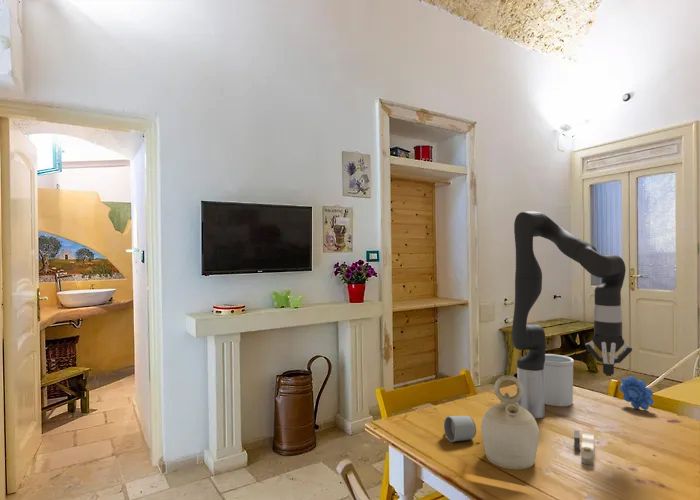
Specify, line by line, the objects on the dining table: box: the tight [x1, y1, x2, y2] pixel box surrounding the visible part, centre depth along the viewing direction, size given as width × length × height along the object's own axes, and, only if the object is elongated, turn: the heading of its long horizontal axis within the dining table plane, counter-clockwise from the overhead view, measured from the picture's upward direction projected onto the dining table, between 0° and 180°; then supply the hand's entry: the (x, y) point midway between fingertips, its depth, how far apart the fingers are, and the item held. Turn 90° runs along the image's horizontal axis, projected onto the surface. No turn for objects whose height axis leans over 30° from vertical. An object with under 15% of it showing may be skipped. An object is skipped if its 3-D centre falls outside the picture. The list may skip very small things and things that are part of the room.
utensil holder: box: [544, 353, 575, 407], centre depth 176 cm, size 15×15×18 cm
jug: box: [480, 374, 540, 471], centre depth 124 cm, size 15×16×25 cm
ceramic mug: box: [443, 415, 477, 443], centre depth 142 cm, size 11×8×8 cm
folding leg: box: [580, 431, 595, 466], centre depth 126 cm, size 16×3×4 cm, turn 150°
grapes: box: [618, 375, 655, 411], centre depth 166 cm, size 12×7×12 cm, turn 35°
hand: (608, 375), depth 134 cm, fingers closed
